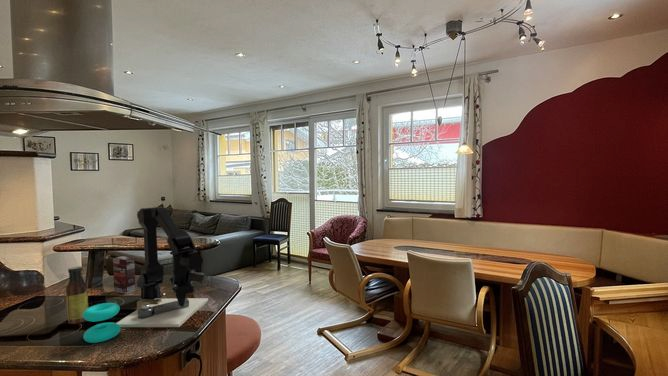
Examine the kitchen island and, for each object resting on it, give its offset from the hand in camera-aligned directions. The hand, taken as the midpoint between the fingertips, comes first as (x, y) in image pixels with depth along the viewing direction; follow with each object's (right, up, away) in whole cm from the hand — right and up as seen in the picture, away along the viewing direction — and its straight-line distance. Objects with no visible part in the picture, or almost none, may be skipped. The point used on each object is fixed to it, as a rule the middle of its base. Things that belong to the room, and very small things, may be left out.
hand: (182, 306), depth 128 cm
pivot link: (-6, -1, -2) cm, 6 cm away
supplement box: (-38, -2, +25) cm, 45 cm away
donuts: (-17, -3, -20) cm, 26 cm away
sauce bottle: (-35, -3, -8) cm, 36 cm away
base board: (-6, -2, -1) cm, 7 cm away
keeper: (-12, -1, -1) cm, 12 cm away
